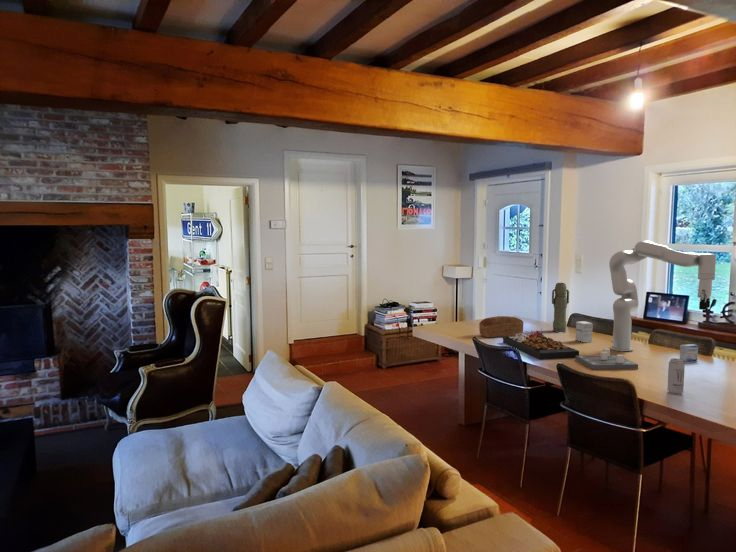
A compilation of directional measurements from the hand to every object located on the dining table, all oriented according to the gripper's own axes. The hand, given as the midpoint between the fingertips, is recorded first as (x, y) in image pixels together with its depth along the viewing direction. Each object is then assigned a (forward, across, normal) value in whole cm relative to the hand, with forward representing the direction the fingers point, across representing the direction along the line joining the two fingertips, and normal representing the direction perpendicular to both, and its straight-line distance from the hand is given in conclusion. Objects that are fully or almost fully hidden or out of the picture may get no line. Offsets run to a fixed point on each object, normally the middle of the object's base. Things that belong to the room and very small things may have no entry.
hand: (704, 308), depth 270 cm
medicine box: (+30, -4, -7) cm, 31 cm away
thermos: (+31, -37, -92) cm, 104 cm away
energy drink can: (+30, +66, +1) cm, 73 cm away
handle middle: (+28, +36, -39) cm, 60 cm away
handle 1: (+27, +28, -40) cm, 56 cm away
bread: (+31, +4, -116) cm, 120 cm away
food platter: (+31, +26, -80) cm, 90 cm away
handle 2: (+27, +38, -30) cm, 56 cm away
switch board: (+30, +36, -38) cm, 60 cm away
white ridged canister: (+31, -15, -67) cm, 76 cm away
